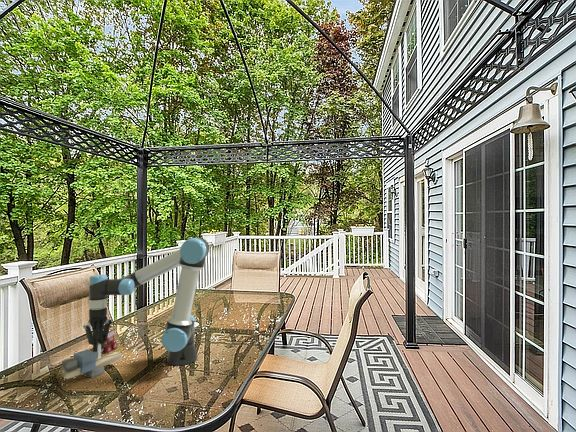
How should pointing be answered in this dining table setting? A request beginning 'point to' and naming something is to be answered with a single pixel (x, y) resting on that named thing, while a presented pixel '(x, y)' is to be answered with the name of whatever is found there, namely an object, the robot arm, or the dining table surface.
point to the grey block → (86, 360)
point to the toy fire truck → (109, 342)
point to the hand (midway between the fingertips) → (97, 357)
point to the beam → (73, 370)
